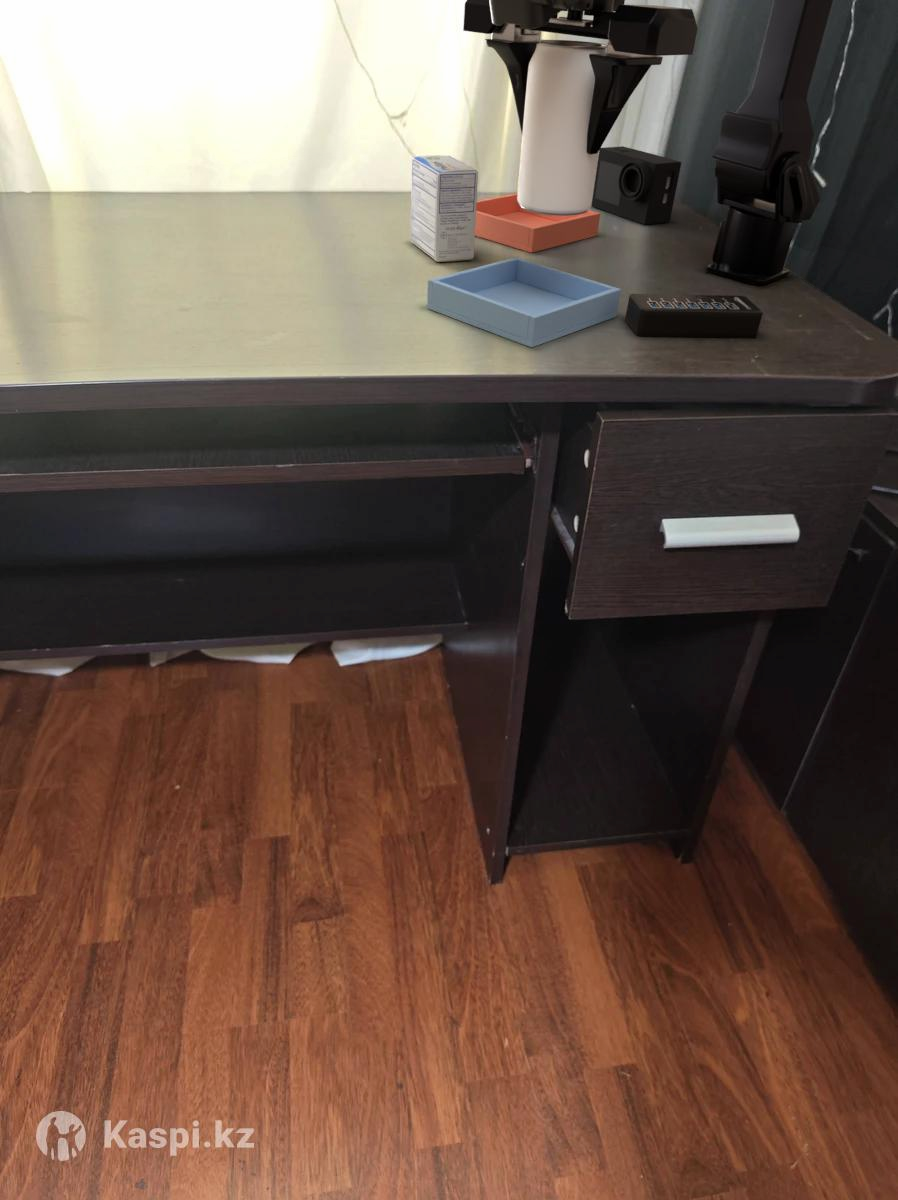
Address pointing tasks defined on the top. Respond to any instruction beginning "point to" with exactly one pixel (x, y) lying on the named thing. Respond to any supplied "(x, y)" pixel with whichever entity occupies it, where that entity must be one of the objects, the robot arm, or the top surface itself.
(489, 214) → the coral tray
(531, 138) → the can
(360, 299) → the top surface
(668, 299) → the multiport hub
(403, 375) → the top surface
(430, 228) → the medicine box
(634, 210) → the digital camera
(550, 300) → the blue tray
